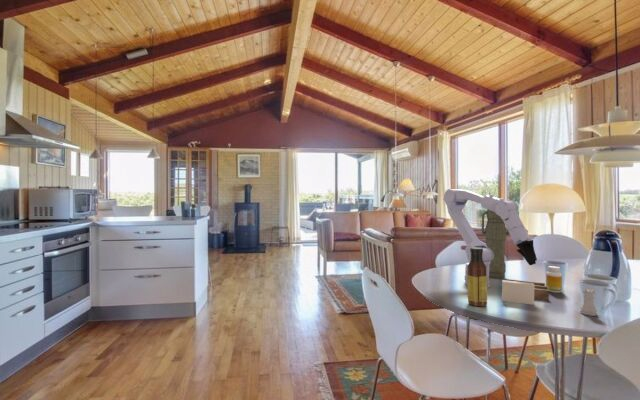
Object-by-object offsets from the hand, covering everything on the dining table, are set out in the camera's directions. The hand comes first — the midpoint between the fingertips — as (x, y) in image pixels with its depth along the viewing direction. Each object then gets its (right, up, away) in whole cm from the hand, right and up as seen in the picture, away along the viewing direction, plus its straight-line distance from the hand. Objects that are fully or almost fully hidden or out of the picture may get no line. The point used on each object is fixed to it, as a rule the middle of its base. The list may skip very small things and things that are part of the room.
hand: (533, 262), depth 128 cm
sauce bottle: (-24, -14, -6) cm, 28 cm away
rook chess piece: (+9, -14, -14) cm, 22 cm away
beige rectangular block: (-7, -14, -2) cm, 16 cm away
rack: (+2, -13, +9) cm, 16 cm away
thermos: (+4, -13, +36) cm, 39 cm away
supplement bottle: (+16, -14, +13) cm, 24 cm away
